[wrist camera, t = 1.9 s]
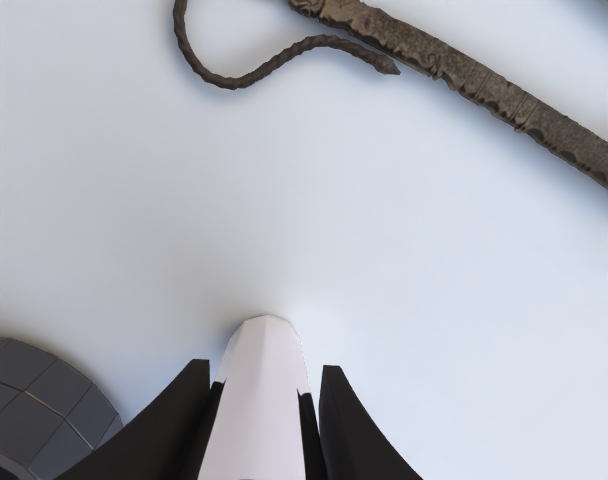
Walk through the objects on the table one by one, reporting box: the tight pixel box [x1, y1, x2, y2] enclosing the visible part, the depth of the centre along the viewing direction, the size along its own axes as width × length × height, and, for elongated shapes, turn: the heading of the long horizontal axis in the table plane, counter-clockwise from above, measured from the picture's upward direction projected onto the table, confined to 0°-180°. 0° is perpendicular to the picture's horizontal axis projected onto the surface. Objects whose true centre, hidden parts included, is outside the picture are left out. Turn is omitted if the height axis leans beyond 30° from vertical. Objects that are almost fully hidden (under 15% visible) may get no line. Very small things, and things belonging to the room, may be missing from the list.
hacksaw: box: [173, 0, 608, 189], centre depth 11 cm, size 24×10×2 cm, turn 60°
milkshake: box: [174, 315, 329, 480], centre depth 10 cm, size 4×5×10 cm
